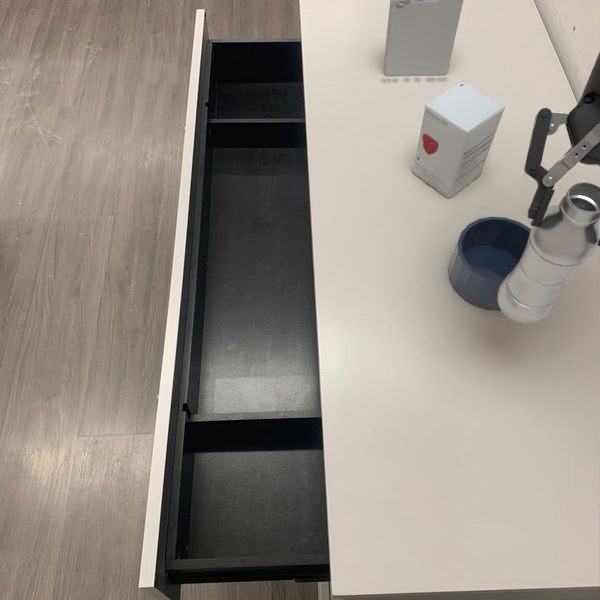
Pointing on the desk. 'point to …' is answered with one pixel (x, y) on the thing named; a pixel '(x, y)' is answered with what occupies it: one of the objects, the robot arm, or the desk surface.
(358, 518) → the desk surface
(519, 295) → the silver bottle
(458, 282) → the bowl
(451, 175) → the white product box
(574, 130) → the robot arm
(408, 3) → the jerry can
